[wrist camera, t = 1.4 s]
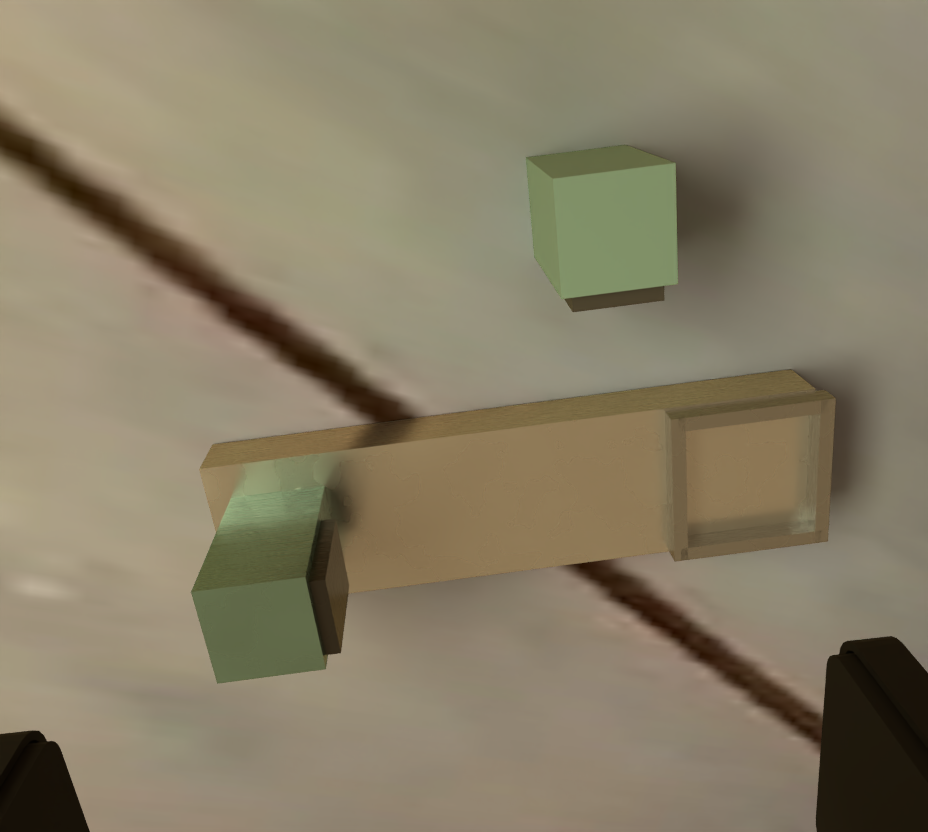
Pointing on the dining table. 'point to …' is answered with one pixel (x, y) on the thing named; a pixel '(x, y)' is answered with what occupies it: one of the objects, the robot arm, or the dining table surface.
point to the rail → (498, 502)
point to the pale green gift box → (604, 225)
